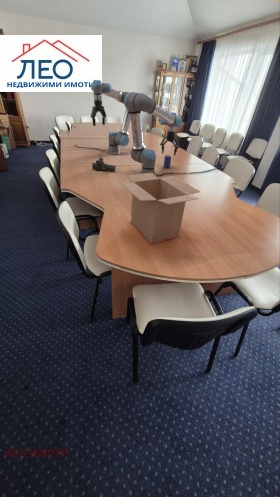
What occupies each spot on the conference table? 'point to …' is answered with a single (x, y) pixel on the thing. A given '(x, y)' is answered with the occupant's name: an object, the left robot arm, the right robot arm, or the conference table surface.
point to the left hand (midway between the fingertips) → (99, 125)
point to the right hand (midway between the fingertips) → (168, 154)
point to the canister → (167, 161)
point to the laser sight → (103, 166)
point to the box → (158, 204)
